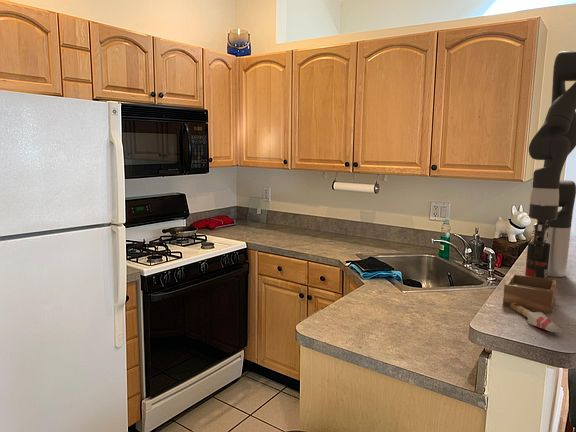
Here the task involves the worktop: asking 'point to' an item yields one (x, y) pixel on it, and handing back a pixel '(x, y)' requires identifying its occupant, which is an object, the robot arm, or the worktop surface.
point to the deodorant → (537, 262)
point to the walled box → (530, 293)
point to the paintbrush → (536, 318)
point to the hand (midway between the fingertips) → (538, 255)
